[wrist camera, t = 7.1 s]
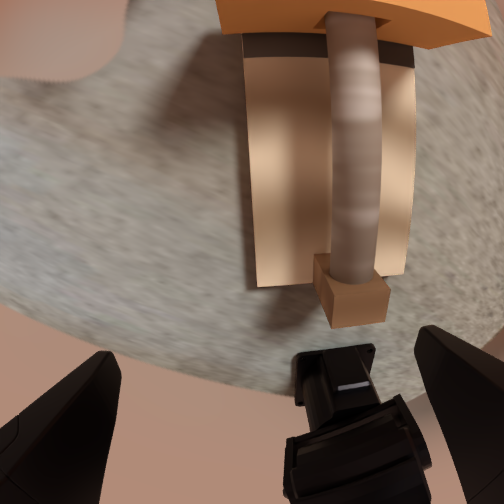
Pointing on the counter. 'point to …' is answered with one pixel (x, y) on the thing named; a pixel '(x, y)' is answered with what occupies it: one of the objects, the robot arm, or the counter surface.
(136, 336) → the counter surface
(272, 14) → the collar
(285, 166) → the rod board
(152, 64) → the counter surface
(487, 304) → the counter surface
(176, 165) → the counter surface
